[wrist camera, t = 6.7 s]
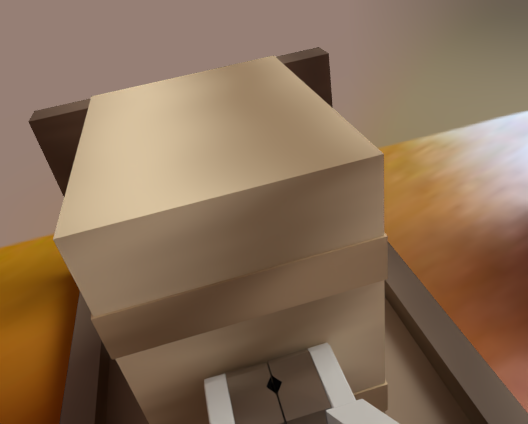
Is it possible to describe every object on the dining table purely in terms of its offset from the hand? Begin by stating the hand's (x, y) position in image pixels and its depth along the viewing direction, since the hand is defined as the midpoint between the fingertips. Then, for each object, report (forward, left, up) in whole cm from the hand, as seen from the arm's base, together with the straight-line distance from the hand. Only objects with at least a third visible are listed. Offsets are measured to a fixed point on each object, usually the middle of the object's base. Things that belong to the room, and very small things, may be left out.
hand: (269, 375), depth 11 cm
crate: (0, +4, -5) cm, 6 cm away
